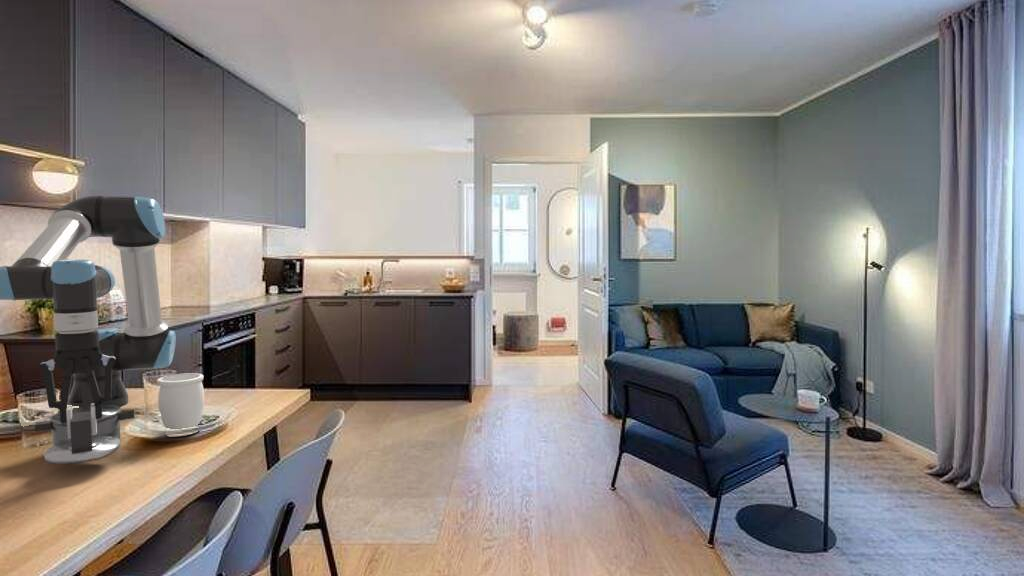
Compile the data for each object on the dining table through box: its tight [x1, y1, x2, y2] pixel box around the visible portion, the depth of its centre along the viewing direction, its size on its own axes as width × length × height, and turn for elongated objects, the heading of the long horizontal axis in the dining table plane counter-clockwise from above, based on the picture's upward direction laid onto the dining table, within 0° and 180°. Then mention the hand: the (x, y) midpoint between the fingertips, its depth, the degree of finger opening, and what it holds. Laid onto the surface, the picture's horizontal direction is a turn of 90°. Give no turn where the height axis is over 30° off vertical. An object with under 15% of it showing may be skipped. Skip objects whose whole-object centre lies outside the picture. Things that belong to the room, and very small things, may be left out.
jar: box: [157, 372, 205, 429], centre depth 148 cm, size 11×10×15 cm
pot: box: [34, 405, 135, 447], centre depth 136 cm, size 14×19×9 cm
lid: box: [43, 411, 121, 465], centre depth 125 cm, size 13×13×8 cm
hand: (82, 434), depth 125 cm, fingers closed on lid, 3 cm apart
